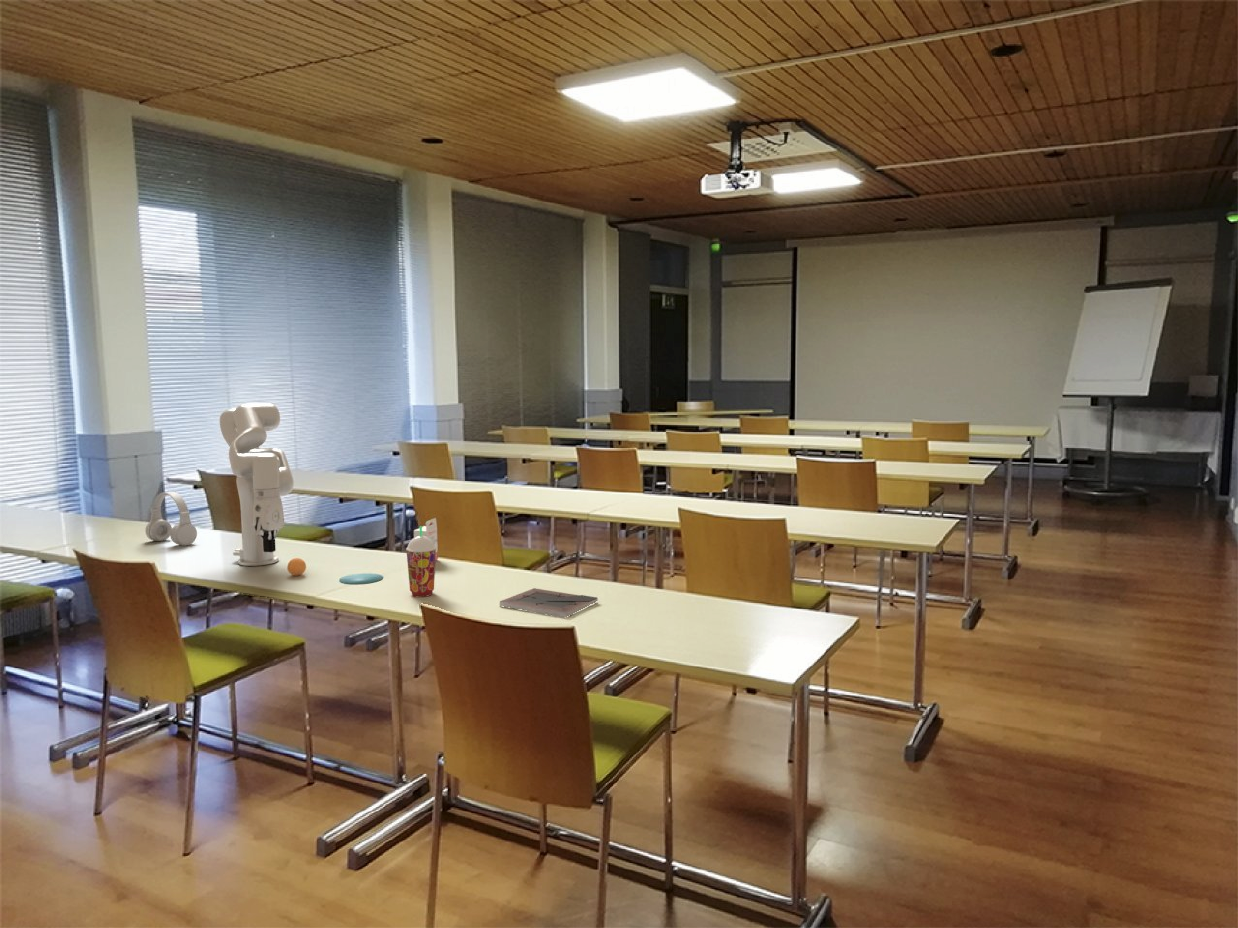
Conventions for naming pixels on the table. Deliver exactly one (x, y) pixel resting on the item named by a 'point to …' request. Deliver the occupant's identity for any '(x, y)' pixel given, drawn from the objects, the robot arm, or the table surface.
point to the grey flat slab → (548, 602)
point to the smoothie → (421, 565)
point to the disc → (361, 578)
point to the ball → (296, 566)
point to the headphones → (162, 529)
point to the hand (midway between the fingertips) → (269, 551)
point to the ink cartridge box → (429, 533)
